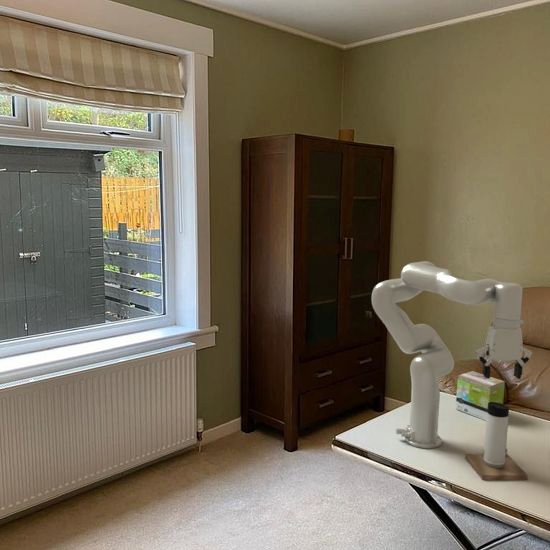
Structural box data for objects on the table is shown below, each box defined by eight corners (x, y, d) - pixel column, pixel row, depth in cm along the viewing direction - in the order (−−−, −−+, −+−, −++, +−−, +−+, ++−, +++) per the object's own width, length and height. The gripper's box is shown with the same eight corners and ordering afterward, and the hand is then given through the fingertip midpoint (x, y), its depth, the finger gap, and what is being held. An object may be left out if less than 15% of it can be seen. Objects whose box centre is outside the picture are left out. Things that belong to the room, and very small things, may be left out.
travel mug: (478, 461, 178) (482, 401, 175) (493, 457, 181) (498, 398, 178) (492, 470, 173) (497, 408, 170) (508, 466, 175) (514, 405, 172)
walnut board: (482, 479, 170) (483, 467, 169) (464, 458, 183) (465, 446, 183) (527, 479, 170) (528, 467, 170) (506, 458, 184) (507, 446, 183)
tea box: (454, 409, 225) (456, 374, 223) (469, 404, 231) (471, 370, 229) (488, 422, 213) (491, 385, 211) (502, 416, 219) (505, 380, 217)
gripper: (528, 320, 174) (523, 373, 177) (473, 320, 173) (469, 373, 176) (540, 326, 167) (535, 381, 169) (483, 326, 166) (479, 381, 168)
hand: (501, 377), depth 172 cm, fingers open, 9 cm apart
